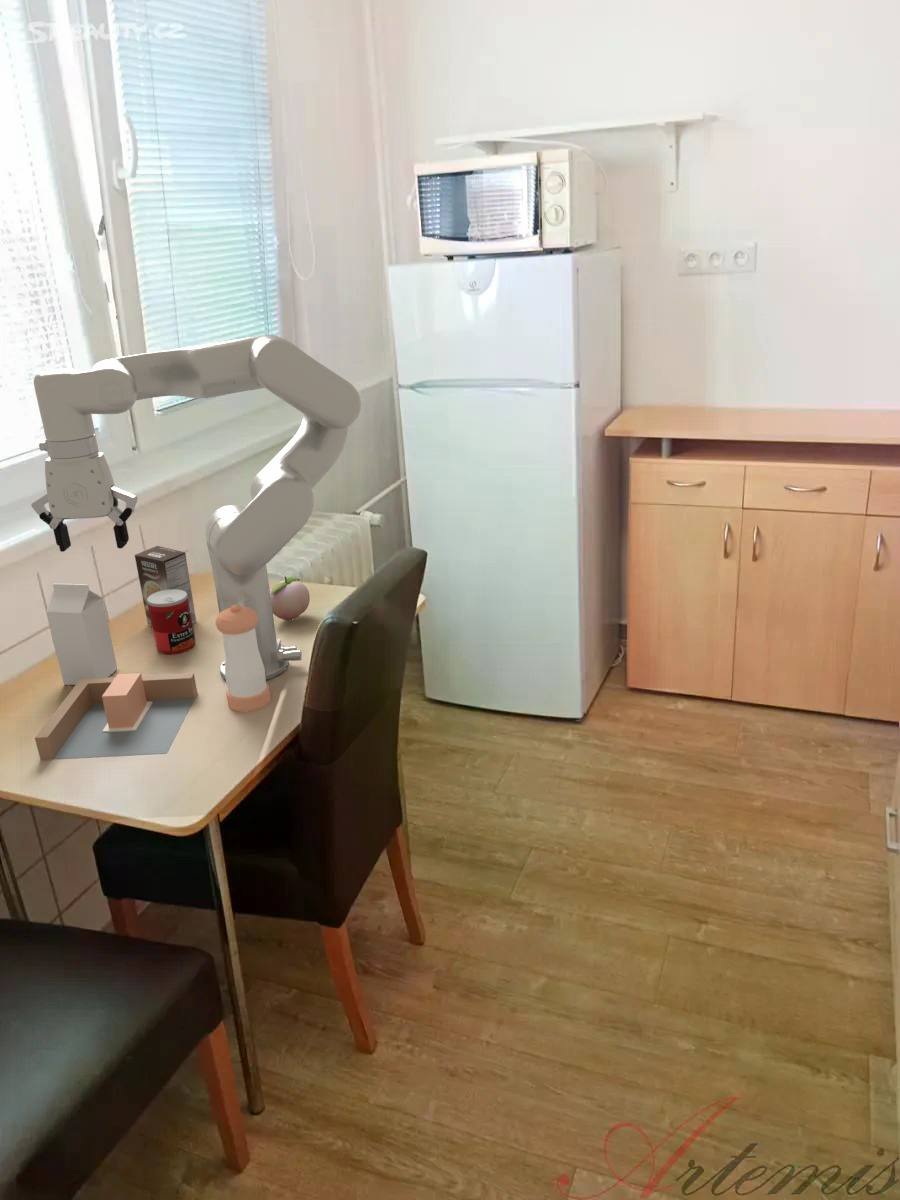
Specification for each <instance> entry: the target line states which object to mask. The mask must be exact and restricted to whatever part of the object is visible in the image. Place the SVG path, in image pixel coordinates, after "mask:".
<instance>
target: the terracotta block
mask: <svg viewBox="0 0 900 1200" xmlns="http://www.w3.org/2000/svg"><path fill="white" fill-rule="evenodd" d="M142 676H143V675H142V673H141V672H133V673H132V672H131V673H117V674H116V676H114V677H115V679H114V680H113V681H112V683H111V684H110V686H109V687H108V689H107V690H106V691H105V693H104V694H103V696H102V699H103V704H104V708H105V713H106V717H107V722H108V726H109V728H126V727H133V726H134V725H135V723H136V721H137V720H138V718H139V716H140V715H141V713H142V711H143V710H144V708H145V706H146V705H147V701H146V696H145V691H144V686H143V681H142Z"/></svg>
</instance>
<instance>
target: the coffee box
mask: <svg viewBox="0 0 900 1200" xmlns="http://www.w3.org/2000/svg"><path fill="white" fill-rule="evenodd" d="M134 559H135V564H136V570H137V576H138V581H139V586H140V591H141V596H142V603H143V606H144V612H145V618H146V621H147V622H146V623H147V625H149V626H151V627H152V624H151V619H150V614H149V609H148V603H147V602H148V601H147V598H148V597H149V596H150V595H152V594H154V593H156V592H159V591H163V590H170V589H177V590H183V591H185V592H186V593H187V596H188V601H189V606H190V612H191V618H192V624H193V625H194V624H196V623H197V617H196V612H195V604H194V603H195V602H194V599H193V592H192V587H191V586H192V585H191V580H190V579H191V578H190V573H189V567H188V562H187V561H188V560H187V554H186V552H185V551H182V550H176V549H172V548H169V547H168V548H167V547H163V546H159V545H156V546H154V547H151V548H147V549H145V550H143V551H142V552H139V553H136V554H134Z"/></svg>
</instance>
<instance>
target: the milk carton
mask: <svg viewBox="0 0 900 1200" xmlns="http://www.w3.org/2000/svg"><path fill="white" fill-rule="evenodd" d="M52 587H53V592H52V594H51V596H50V600H49V602H48V605H47V609H46V611H45V612H46V616H47V620H48V623H49V628H50V632H51V636H52V641H53V644H54V649H55V654H56V656H57V661H58V665H59V668H60V675H61V678H62V682H63V684H64V685H65V686H66V685H67V686H69V685H70V686H75V685H76V684H77V683H78V682H79V680H80V679H87V678H106V677H111V676H112V674H114V673H115V672H116V671H117V670H118V665H117V660H116V659H117V658H116V655H115V651H114V645H113V641H112V637H111V631H110V627H109V622H108V617H107V612H106V608H105V604H104V599H103V597H102V596H100V595H98V594H97V593H95V592H93V591H92V590H90V587H89V584H87V583H86V584H80V583H79V584H77V583H75V584H74V583H52Z"/></svg>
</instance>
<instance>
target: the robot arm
mask: <svg viewBox="0 0 900 1200" xmlns="http://www.w3.org/2000/svg"><path fill="white" fill-rule="evenodd" d="M33 387H34V391H35V395H36V396H35V397H36V401H37V405H38V408H39V414H40V419H41V423H42V427H43V432H44V437H45V440H44V441H43V442H39V444H38V447H39V448H38V449H39V450H40V452H41V451H42V452H43V451H45V452H47V455H48V457H47V458H46V459H44V474H45V475H44V476H45V485H46V486H45V487H46V494H44V495H43V496H41V497H39V498H38V499H37V500H34V501H33V502H32V503H31V507H32V509H33V511H35V513H36V514H37V515H38V516H39V519H41V520H42V522H44V523H46V524H47V525H48V526H49V528H50V529H51V530H53V534H54V535H53V536H54V538H55V542H56V545H57V546H58V547H59V551H60V552H62V553H63V552H65V551H67V550H69V548H70V547H72V542H71V538H70V534H69V533H70V532H69V530H68V525H67V524H66V523H64V521H65V520H76V519H77V520H78V519H79V520H80V519H96V518H99V519H100V518H104V517H105V518H106V517H108V519H110V520H111V521H112V522H113V523H115V524H114V526H113V528H112V529H113V532H114V537H115V543H116V548H117V549H124V547H125V546H126V545H127V544H128V541H129V539H130V538H129V537H130V536H129V531H128V526H127V523H126V521H127V520H128V519H129V518H130V517H131V516H132V514H133V513H134V511H135V508H136V505H137V502H138V499H139V498H138V496H137V495H134V494H132V493H130V492H129V491H128V492H127V491H125V490H122V489H120V488H118V487H116V485H115V483H114V478H113V476H112V472H111V470H110V467H109V464H108V461H107V459H106V456H105V455H104V452H102V451H101V452H100V450H99V446H98V441H97V437H96V431H95V430H96V429H95V426H94V419H93V415H119V414H124V413H125V412H127V411H129V410H130V409H131V408H132V407H134V405H135V403H137V402H136V401H140V400H147V399H152V398H159V397H161V398H162V397H175V396H176V397H186V398H192V399H210V398H217V397H221V396H226V395H231V394H232V395H233V394H237V393H241V392H248V391H249V392H250V391H256V390H259V389H266V390H267V391H270V393H272V394H273V395H275V396H276V397H278V398H279V399H281V401H284V402H285V403H287V404H288V405H290V406H291V407H293V408H294V409H296V410H298V411H300V413H303V414H302V420H301V424H300V427H299V428H298V429H297V431H296V433H295V435H294V436H292V438H291V439H290V440H289V441H288V443H287V444H286V445H285V446H284V447H283V448H282V449H281V450H280V451H279V452H278V453H277V454H276V455H275V456H274V457H273V458H272V459H271V460H270V461H269V462H268V463H267V464H266V465H265V466H264V467H263V468H262V469H261V470H260V471H258V472H257V474H256V475H255V476H254V478H253V480H252V481H251V484H250V491H249V492H250V496H251V501H250V502H249V503H248V504H246V506H245V507H244V506H241V505H238V504H228V505H224V506H221V507H218V508H217V509H216V510H215V511H214V512H213V513H212V514H211V515H210V516H209V518H208V519H207V522H206V527H205V539H206V545H207V550H208V555H209V559H210V560H209V561H210V565H211V570H212V575H213V582H214V588H215V594H216V600H217V605H218V606H217V607H218V614H219V613H220V612H222V611H224V610H226V609H228V608H231V606H233V605H239V606H243V607H249V608H251V609H253V610H254V611H255V612H256V614H257V616H258V623H257V626H256V627H255V632H256V638H257V645H258V650H259V653H260V656H261V659H262V662H263V665H264V669H265V678H266V681H268V680H270V679H273V678H276V677H278V676H279V675H281V674H282V673H283V672H284V671H285V670H286V669H287V668H288V665H289V661H291V662H293V661H294V662H295V661H302V650H301V649H299V650H297V646H296V645H295V646H285V645H282V642H281V641H282V640H281V639H280V638H277V634H276V626H275V621H274V614H273V611H272V604H271V597H270V590H271V589H270V582H269V575H268V569H267V568H268V567H267V564H268V563H269V562H271V560H272V559H273V558H274V557H275V556H276V555H277V554H278V553H279V552H280V551H281V550H282V549H283V548H284V547H285V546H286V545H287V544H288V543H289V542H290V541H291V540H292V539H293V538H294V537H295V536H296V535H297V534H298V533H299V532H300V531H301V529H303V527H304V526H305V525H306V524H307V522H308V521H309V519H310V518H311V516H312V513H313V511H314V506H315V497H314V493H313V489H314V487H316V485H317V484H318V483H320V481H321V480H322V479H323V477H324V476H325V475H326V474H327V473H328V472H329V471H330V470H331V468H332V467H333V466H334V465H335V464H336V463H337V461H338V460H339V457H340V456H341V454H342V452H343V450H344V447H345V444H346V441H347V436H348V429H349V428H348V427H350V426H351V425H352V424H354V423H355V422H356V420H357V419H358V417H359V416H360V413H361V405H362V401H361V397H360V394H359V392H358V390H357V388H356V387H355V386H354V385H353V384H352V383H351V382H349V381H348V380H346V379H345V378H343V377H342V376H340V375H338V374H337V373H336V372H334V371H333V370H331V369H330V368H329V367H327V366H325V365H324V364H322V363H321V362H319V361H317V360H316V359H315V358H313V357H312V356H310V355H308V353H306V352H305V351H304V350H302V349H301V348H299V347H298V346H297V345H295V344H294V343H292V342H291V341H289V340H287V339H286V338H283V337H281V336H278V335H275V334H263V335H256V336H248V337H244V338H238V339H237V338H236V339H231V340H227V341H226V340H225V341H221V342H215V343H207V344H201V345H200V344H199V345H193V346H187V347H185V346H184V347H181V348H175V349H170V350H160V351H153V352H146V353H140V354H139V353H138V354H133V355H132V354H131V355H128V356H127V355H126V356H122V357H121V356H119V357H115V358H110V359H104V360H101V361H99V362H97V363H95V364H94V365H93V366H92V367H91V368H90V370H86V371H79V370H78V369H74V368H57V369H50V370H45V371H40V372H39V373H37V374H36V375H35V376H34V378H33ZM119 500H121V501H123V502H125V509H124V510H122V509H120V508H119ZM46 504H48V508H49V510H47V507H46V506H45V505H46ZM286 667H287V668H286ZM219 672H220V676H221V677H222V678H223V679H224V680H226V677H225V660H223V661H222V662H221V664H220V666H219Z"/></svg>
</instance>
